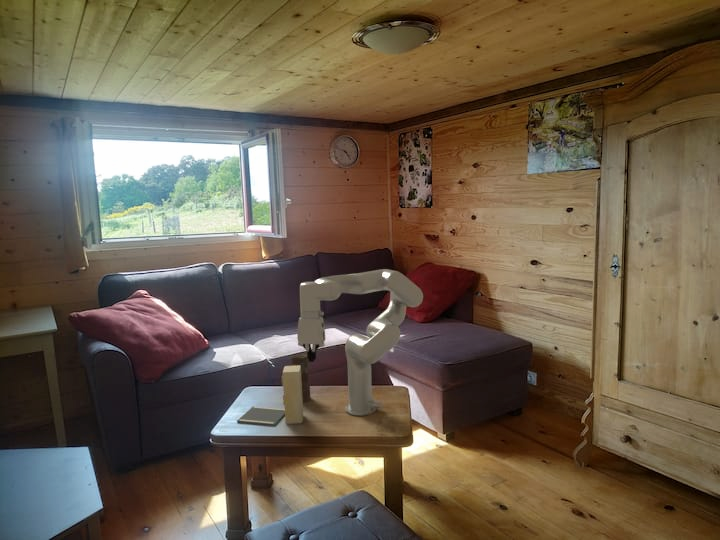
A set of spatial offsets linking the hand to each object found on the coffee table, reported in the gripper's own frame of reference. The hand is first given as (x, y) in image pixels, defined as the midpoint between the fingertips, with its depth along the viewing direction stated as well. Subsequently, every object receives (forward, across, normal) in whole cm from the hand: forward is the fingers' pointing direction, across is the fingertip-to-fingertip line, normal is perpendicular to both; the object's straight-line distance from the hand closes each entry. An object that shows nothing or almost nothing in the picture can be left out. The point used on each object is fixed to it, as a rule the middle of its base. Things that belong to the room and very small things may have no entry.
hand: (311, 360), depth 190 cm
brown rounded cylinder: (+25, +13, -20) cm, 35 cm away
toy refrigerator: (+25, +9, 0) cm, 26 cm away
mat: (+25, +22, 0) cm, 33 cm away
